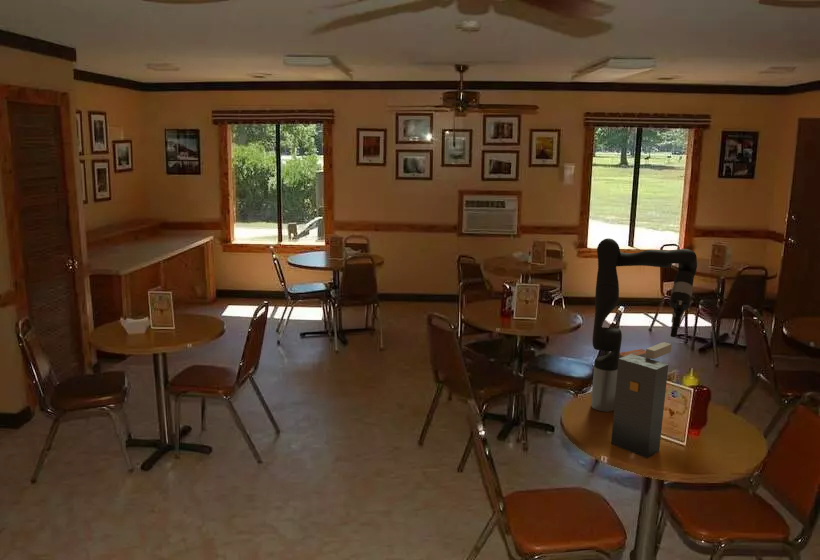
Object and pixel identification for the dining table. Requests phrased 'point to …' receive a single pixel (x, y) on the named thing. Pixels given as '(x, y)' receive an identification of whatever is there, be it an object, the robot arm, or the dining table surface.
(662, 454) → the dining table surface
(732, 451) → the dining table surface
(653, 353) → the handle
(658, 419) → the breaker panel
